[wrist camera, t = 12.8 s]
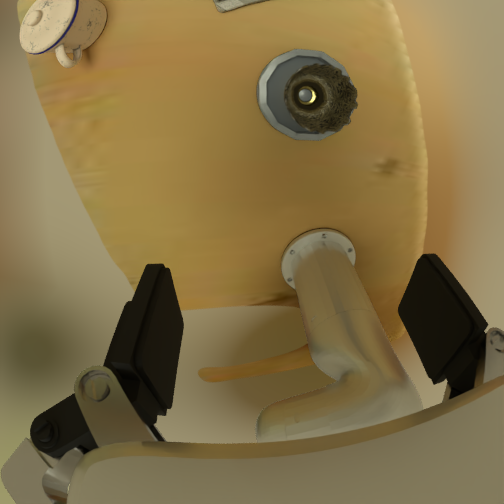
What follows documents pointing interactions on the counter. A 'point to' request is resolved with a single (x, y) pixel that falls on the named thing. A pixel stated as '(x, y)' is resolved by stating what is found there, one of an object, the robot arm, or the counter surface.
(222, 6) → the packaged product
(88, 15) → the teacup with lid
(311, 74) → the dark rounded textured piece
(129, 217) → the counter surface
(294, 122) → the blue-grey plate
